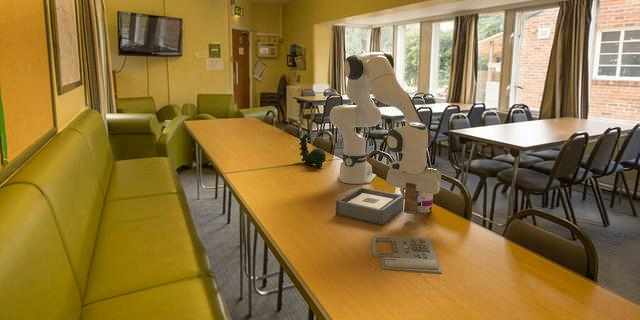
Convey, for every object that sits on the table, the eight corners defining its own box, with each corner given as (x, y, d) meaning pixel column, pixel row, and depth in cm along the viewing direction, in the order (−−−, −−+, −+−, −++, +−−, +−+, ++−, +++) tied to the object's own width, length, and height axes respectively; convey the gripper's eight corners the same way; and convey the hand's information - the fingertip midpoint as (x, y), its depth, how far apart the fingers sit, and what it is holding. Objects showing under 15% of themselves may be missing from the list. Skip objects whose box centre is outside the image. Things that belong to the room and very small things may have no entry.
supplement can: (432, 208, 172) (435, 173, 168) (431, 214, 164) (433, 179, 160) (413, 205, 174) (415, 172, 171) (410, 212, 167) (413, 177, 163)
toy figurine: (296, 165, 248) (318, 170, 227) (294, 134, 245) (317, 136, 224) (309, 163, 253) (332, 168, 233) (308, 132, 250) (331, 135, 230)
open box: (360, 200, 181) (360, 187, 179) (403, 208, 170) (404, 195, 169) (335, 215, 162) (336, 201, 161) (381, 226, 152) (382, 210, 151)
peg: (407, 209, 160) (409, 180, 157) (417, 211, 158) (419, 181, 155) (403, 212, 157) (405, 182, 154) (413, 214, 155) (416, 184, 152)
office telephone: (443, 267, 118) (373, 263, 119) (442, 276, 118) (373, 271, 120) (429, 234, 140) (371, 231, 142) (429, 241, 141) (371, 238, 143)
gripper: (443, 168, 150) (440, 203, 153) (392, 160, 160) (390, 193, 164) (439, 172, 145) (435, 208, 148) (385, 163, 155) (383, 197, 159)
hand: (411, 200), depth 156 cm, fingers closed on peg, 4 cm apart
